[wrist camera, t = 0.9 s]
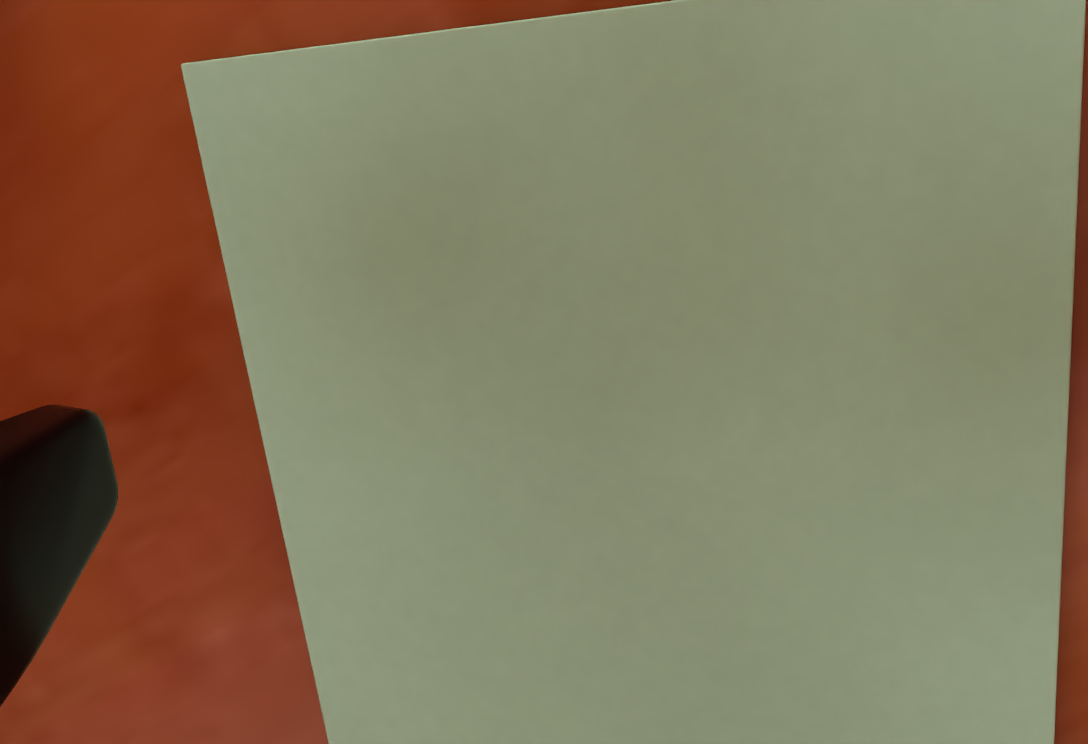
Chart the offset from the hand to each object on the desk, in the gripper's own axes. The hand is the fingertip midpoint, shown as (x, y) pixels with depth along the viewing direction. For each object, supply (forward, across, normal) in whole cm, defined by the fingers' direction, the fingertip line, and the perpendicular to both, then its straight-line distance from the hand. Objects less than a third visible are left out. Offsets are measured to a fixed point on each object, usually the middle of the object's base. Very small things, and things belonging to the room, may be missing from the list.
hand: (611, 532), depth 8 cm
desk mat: (+13, +1, +9) cm, 16 cm away
